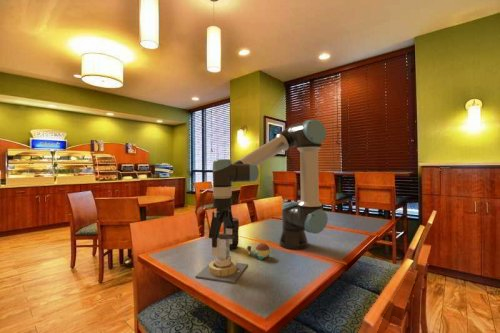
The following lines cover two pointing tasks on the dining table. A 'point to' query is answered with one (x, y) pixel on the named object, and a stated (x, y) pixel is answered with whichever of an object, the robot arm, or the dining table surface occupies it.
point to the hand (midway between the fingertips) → (222, 249)
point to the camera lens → (233, 233)
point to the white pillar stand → (224, 251)
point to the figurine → (260, 251)
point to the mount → (222, 272)
